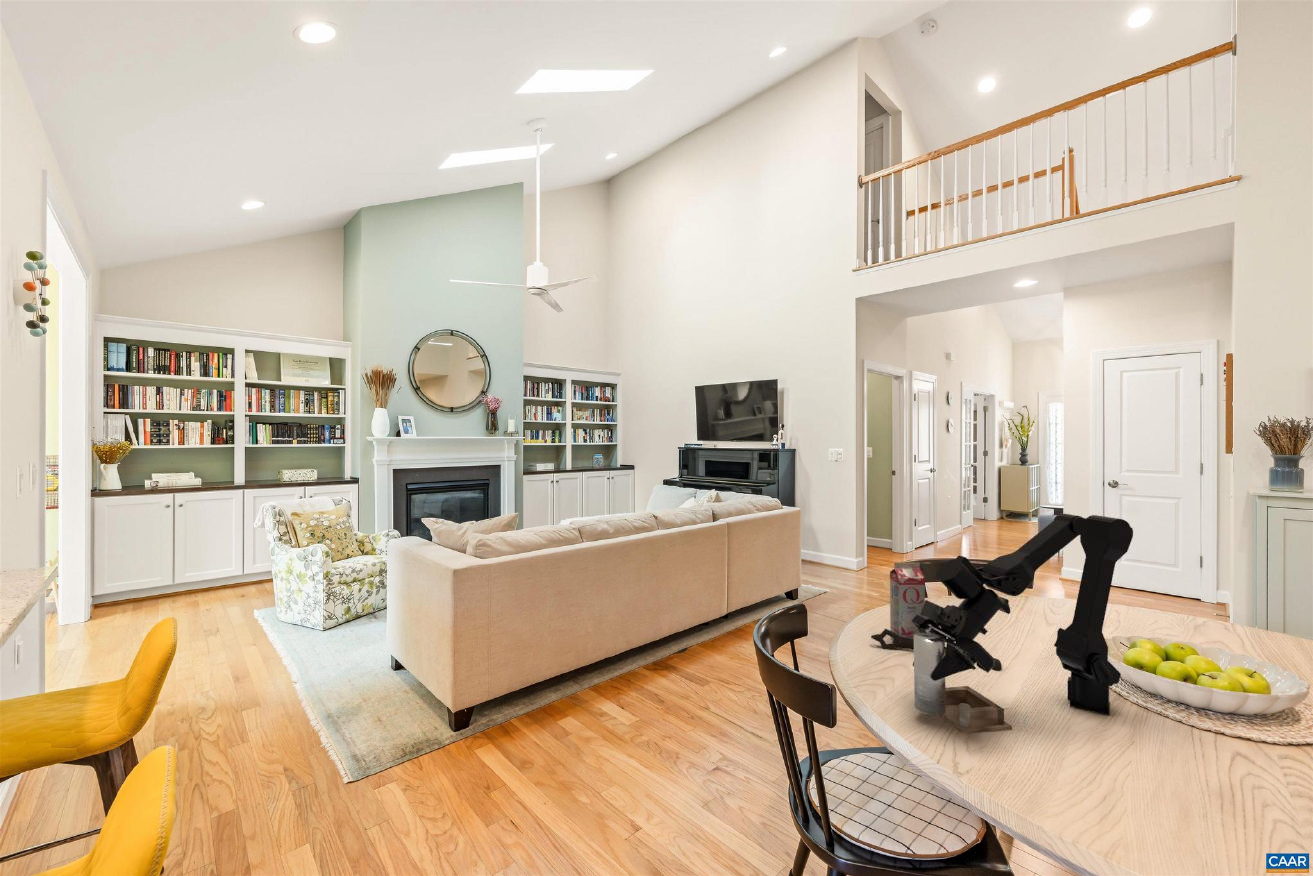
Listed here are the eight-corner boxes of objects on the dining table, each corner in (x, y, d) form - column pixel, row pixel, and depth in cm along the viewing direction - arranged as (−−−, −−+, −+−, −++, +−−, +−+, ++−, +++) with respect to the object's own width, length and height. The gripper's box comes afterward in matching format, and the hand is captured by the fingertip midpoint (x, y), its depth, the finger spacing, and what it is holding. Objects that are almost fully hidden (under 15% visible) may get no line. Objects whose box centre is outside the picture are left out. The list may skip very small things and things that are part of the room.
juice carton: (925, 648, 153) (924, 565, 152) (899, 648, 153) (898, 565, 153) (914, 639, 159) (914, 559, 159) (890, 639, 159) (889, 559, 159)
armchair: (969, 700, 122) (969, 679, 122) (1012, 729, 110) (1011, 705, 110) (926, 704, 121) (925, 682, 121) (964, 733, 109) (964, 709, 109)
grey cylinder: (934, 700, 118) (933, 632, 118) (952, 713, 112) (951, 641, 112) (908, 702, 117) (907, 633, 117) (925, 716, 111) (924, 643, 111)
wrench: (1001, 680, 137) (868, 649, 152) (1000, 673, 142) (871, 644, 156) (1002, 658, 137) (870, 629, 152) (1001, 652, 142) (872, 625, 156)
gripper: (919, 576, 124) (871, 630, 123) (979, 600, 106) (924, 664, 104) (953, 610, 125) (906, 664, 124) (1018, 640, 107) (964, 704, 105)
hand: (923, 672), depth 114 cm, fingers closed on grey cylinder, 6 cm apart
